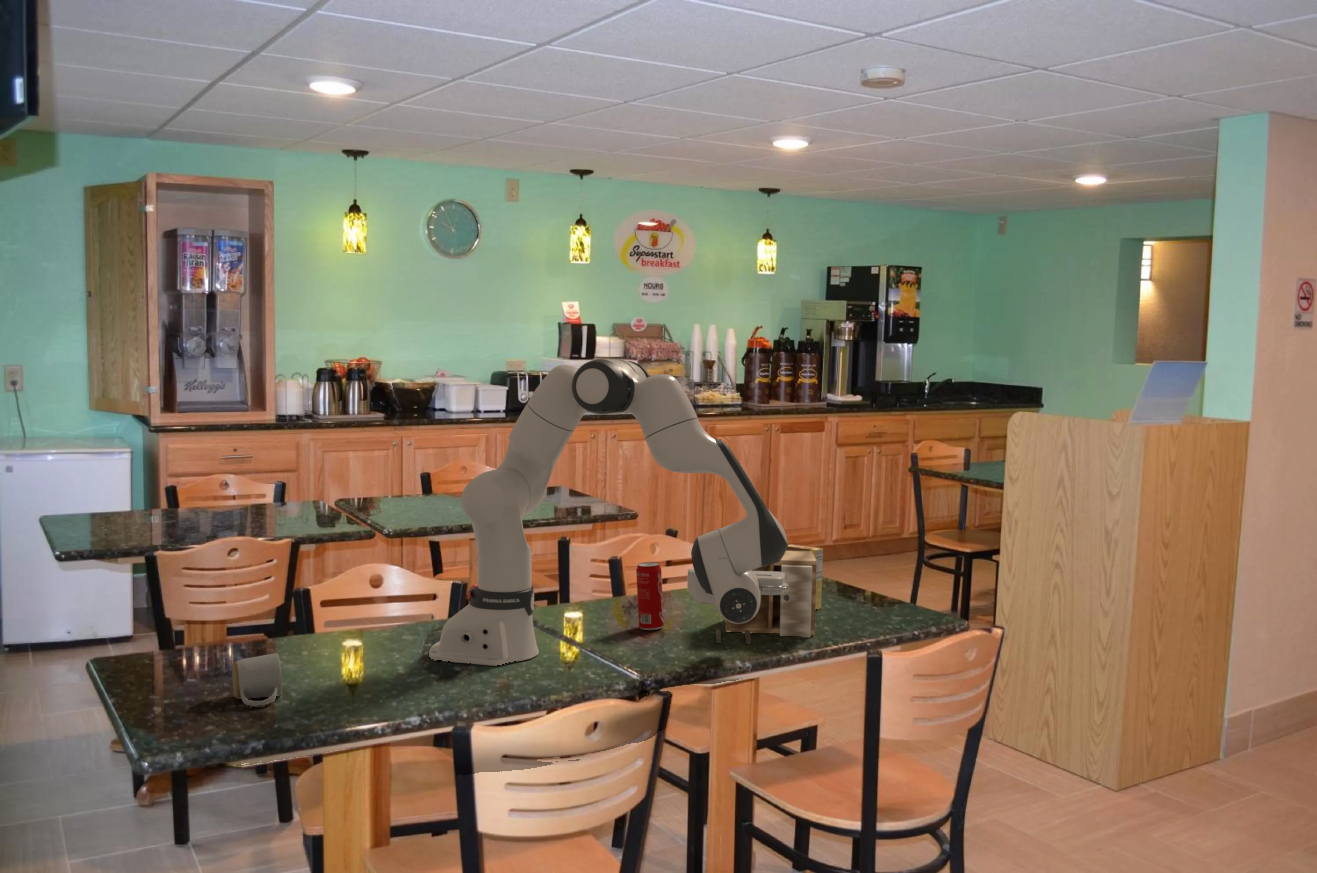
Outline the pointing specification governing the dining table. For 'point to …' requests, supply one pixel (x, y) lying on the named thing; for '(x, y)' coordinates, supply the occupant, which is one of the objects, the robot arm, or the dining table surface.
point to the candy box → (819, 558)
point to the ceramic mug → (257, 679)
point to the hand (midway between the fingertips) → (735, 573)
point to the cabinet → (785, 601)
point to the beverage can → (650, 596)
